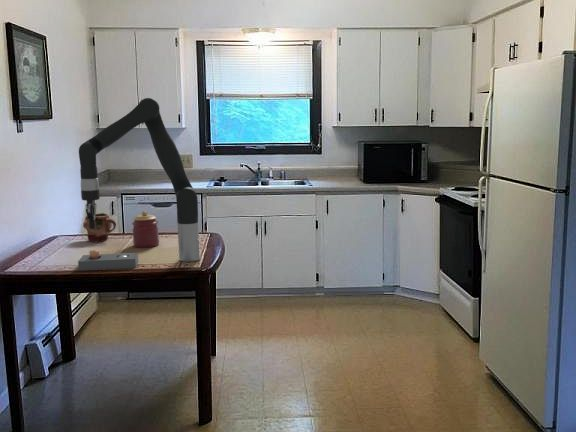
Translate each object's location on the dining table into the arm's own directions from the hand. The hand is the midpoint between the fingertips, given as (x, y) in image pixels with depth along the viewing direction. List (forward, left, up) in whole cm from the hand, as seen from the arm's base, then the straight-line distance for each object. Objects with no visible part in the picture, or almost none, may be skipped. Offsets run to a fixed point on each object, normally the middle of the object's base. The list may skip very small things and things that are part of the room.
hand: (92, 228), depth 269 cm
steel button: (-12, 0, -16) cm, 20 cm away
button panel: (-6, 0, -17) cm, 18 cm away
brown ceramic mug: (+6, -58, -18) cm, 61 cm away
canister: (-19, -40, -18) cm, 48 cm away
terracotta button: (0, 0, -13) cm, 13 cm away
